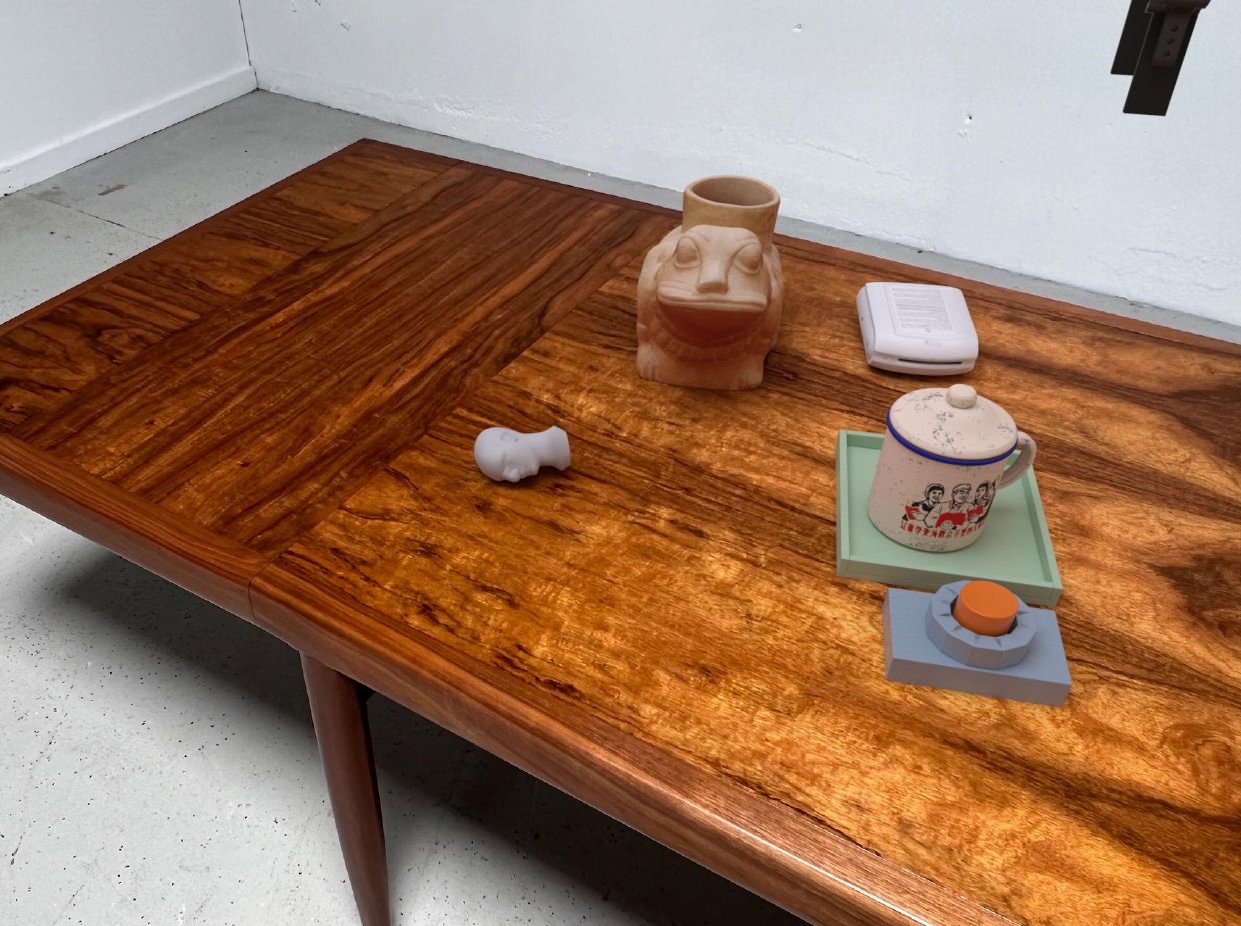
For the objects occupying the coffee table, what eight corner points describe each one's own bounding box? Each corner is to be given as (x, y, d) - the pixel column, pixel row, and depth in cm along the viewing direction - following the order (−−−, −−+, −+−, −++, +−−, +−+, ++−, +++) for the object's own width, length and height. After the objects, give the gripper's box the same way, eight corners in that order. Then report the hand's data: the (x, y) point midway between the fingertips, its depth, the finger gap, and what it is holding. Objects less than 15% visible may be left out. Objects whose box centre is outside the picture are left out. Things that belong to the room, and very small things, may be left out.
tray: (1022, 468, 89) (1029, 451, 88) (1055, 607, 76) (1063, 588, 75) (835, 446, 92) (839, 428, 91) (836, 576, 79) (841, 558, 78)
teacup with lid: (892, 562, 79) (932, 431, 72) (844, 489, 86) (875, 362, 79) (1043, 545, 81) (1097, 415, 73) (983, 474, 88) (1027, 348, 80)
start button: (1007, 603, 72) (1015, 584, 70) (1014, 641, 69) (1022, 621, 68) (951, 595, 72) (957, 576, 71) (955, 632, 69) (963, 613, 68)
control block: (1045, 633, 74) (1064, 590, 72) (1061, 708, 69) (1082, 665, 67) (881, 609, 76) (894, 567, 74) (885, 680, 71) (899, 637, 69)
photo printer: (850, 316, 109) (864, 380, 100) (859, 277, 107) (873, 339, 97) (955, 322, 108) (978, 388, 99) (966, 283, 106) (991, 347, 96)
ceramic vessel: (615, 405, 97) (626, 249, 87) (651, 277, 116) (662, 137, 107) (771, 423, 94) (800, 264, 85) (780, 289, 114) (805, 147, 104)
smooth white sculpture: (472, 494, 89) (478, 445, 91) (569, 498, 88) (572, 448, 91) (468, 463, 85) (474, 413, 88) (568, 467, 84) (572, 416, 87)
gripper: (1159, -249, 80) (1075, 58, 92) (1202, -259, 61) (1090, 128, 73) (1274, -251, 78) (1172, 63, 90) (1356, -263, 59) (1213, 137, 71)
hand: (1135, 93), depth 82 cm, fingers open, 13 cm apart
